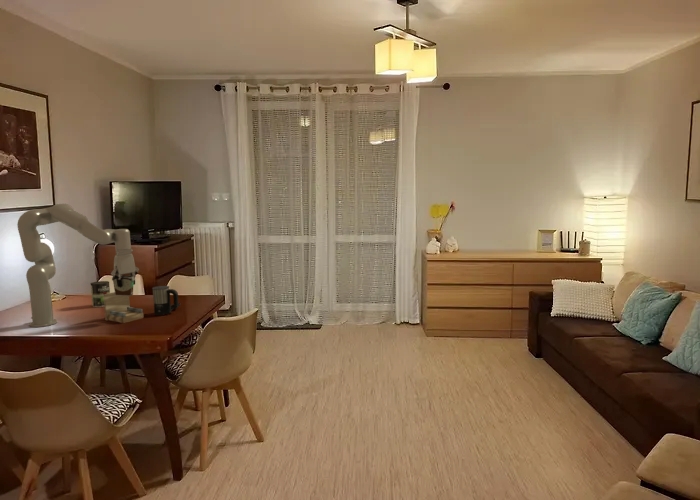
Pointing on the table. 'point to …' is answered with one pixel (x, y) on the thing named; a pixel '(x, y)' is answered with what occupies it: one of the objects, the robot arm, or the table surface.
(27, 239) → the robot arm
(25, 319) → the table surface
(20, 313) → the table surface
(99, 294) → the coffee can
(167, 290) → the milk frother
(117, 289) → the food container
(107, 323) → the table surface
